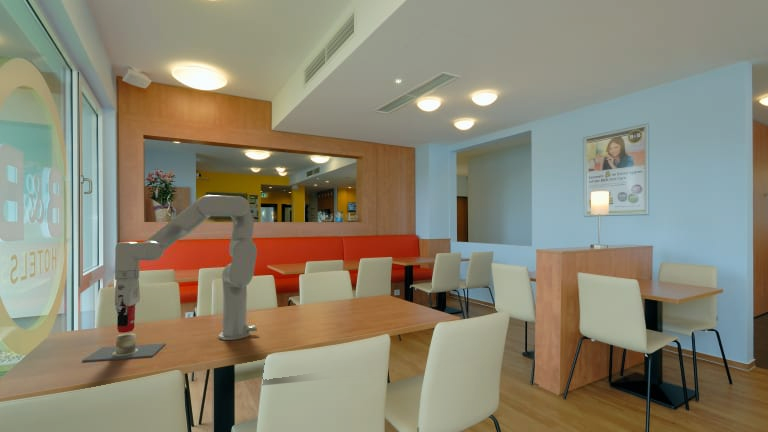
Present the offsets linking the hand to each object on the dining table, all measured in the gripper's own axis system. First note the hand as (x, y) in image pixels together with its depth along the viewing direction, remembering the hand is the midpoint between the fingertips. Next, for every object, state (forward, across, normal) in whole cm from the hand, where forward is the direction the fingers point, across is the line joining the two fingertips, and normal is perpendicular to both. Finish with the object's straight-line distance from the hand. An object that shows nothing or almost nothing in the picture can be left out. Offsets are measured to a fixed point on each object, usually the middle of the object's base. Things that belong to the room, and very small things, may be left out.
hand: (126, 323), depth 137 cm
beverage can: (+3, 0, 0) cm, 3 cm away
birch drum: (+11, 0, 0) cm, 11 cm away
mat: (+11, +1, 0) cm, 11 cm away
